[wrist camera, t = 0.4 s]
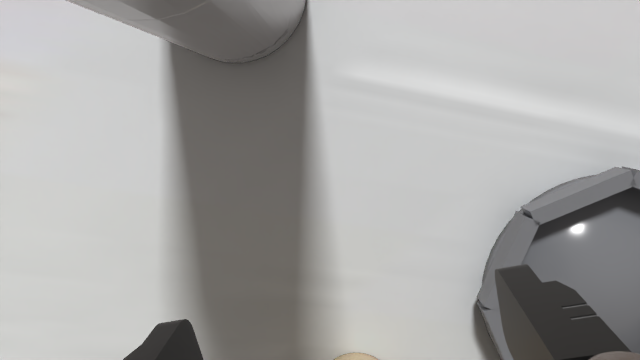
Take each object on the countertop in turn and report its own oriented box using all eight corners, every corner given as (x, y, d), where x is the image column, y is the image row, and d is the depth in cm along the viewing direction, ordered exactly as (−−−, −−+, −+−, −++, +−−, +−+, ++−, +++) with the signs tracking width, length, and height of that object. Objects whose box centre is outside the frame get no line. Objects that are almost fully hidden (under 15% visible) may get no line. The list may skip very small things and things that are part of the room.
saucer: (445, 232, 31) (454, 243, 28) (682, 133, 29) (713, 135, 27) (531, 433, 33) (547, 459, 30) (759, 350, 31) (795, 371, 29)
